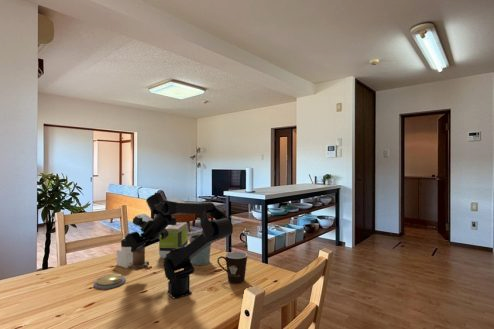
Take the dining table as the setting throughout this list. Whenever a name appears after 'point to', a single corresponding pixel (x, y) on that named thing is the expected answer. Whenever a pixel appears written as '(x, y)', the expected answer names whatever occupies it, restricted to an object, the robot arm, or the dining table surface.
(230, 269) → the coffee mug
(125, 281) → the plate
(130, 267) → the gear spindle
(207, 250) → the drinking glass
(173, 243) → the tea box
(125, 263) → the medicine bottle
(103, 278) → the hub
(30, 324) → the dining table surface
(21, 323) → the dining table surface
